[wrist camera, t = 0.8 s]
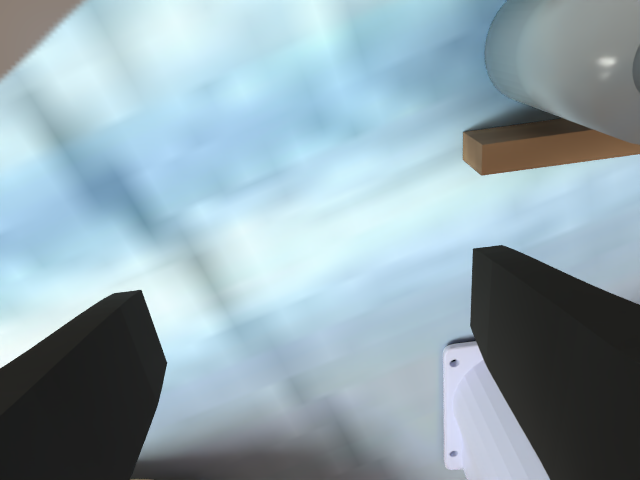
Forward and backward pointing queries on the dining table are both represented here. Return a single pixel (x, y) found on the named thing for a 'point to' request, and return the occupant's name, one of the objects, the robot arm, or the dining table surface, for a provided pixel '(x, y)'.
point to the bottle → (571, 60)
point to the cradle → (539, 146)
